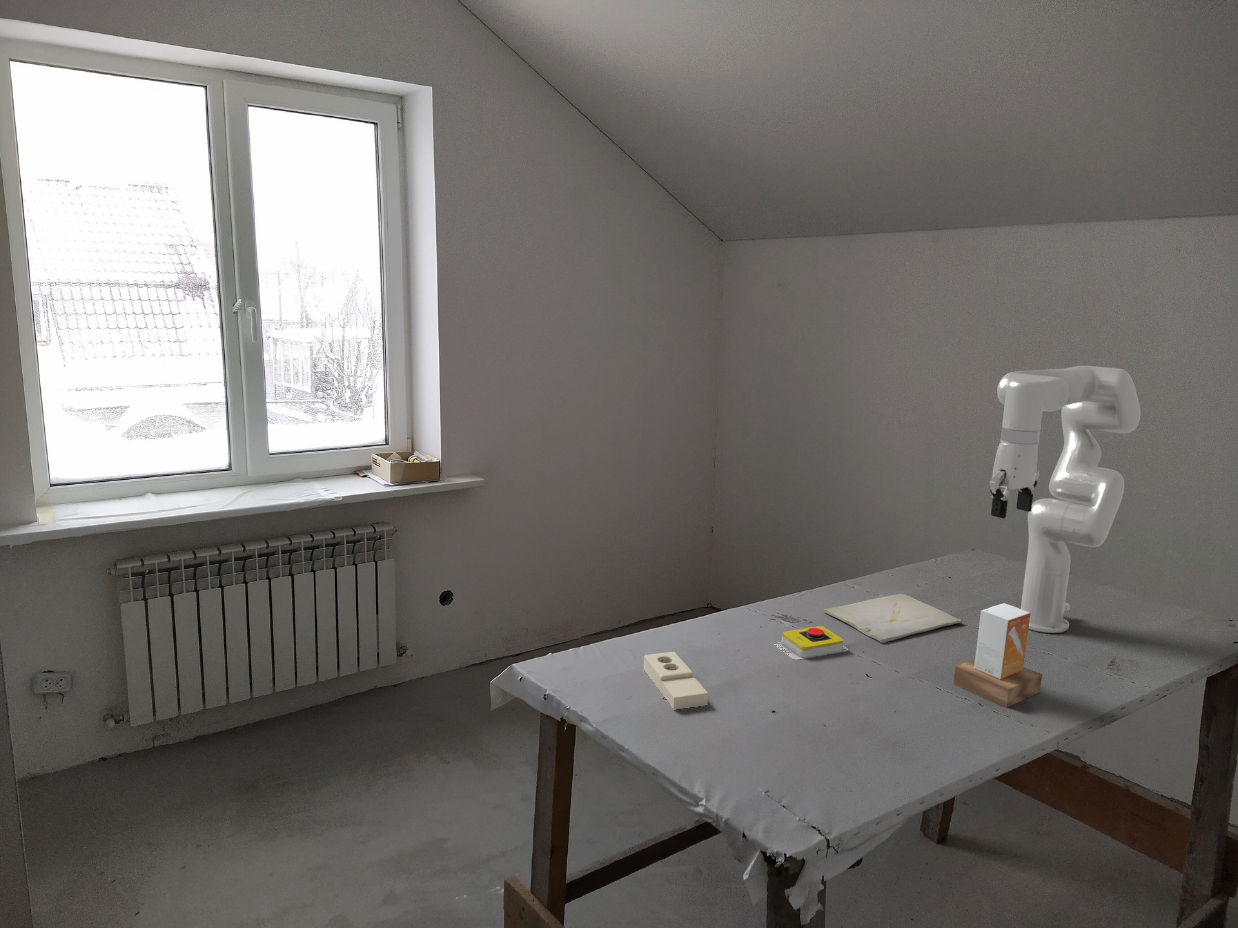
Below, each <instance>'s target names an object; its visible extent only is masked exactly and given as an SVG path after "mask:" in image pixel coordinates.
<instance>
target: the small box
mask: <svg viewBox="0 0 1238 928" xmlns="http://www.w3.org/2000/svg"><path fill="white" fill-rule="evenodd" d="M1030 614H1031V613H1030V612H1027V611H1025V610H1022V609H1021V608H1019V607H1016V606H1014V605H1011V604H1007V603H1000V604H996V605H993V606H991V607H990V606H989V607H988V608H985V609H982V610H980V617H979V626H978V633H977V634H978V635H977V642H976V643H977V644H976V649H975V658H974V659H975V665H974V668H975V669H977V670H979V671H981V672H984V673H986V674H988V675H991V676H993V677H996V678H998V679H1003V678H1005V677H1008V676H1010V675H1012V674H1015V673H1018V672H1021V671H1023V667H1024V663H1025V657H1026V649H1027V642H1028V641H1027V640H1028V635H1029V630H1030V629H1029V622H1030Z"/></svg>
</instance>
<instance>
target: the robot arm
mask: <svg viewBox="0 0 1238 928" xmlns="http://www.w3.org/2000/svg"><path fill="white" fill-rule="evenodd" d="M1136 389H1137V388H1136V386H1135V384H1134V381H1133V378H1132V377H1131V375H1130V373H1129V372H1127V370H1125V369H1123V368H1118V367H1117V368H1116V367H1107V366H1106V367H1104V366H1096V365H1095V366H1093V365H1077V366H1071V367H1065V368H1050V369H1039V370H1038V369H1034V370H1033V369H1032V370H1017V371H1011V372H1008V373H1006V374H1005V375H1004V376H1002V378H1000V381H999V383H998V385H997V389H996V391H997V392H996V394H997V398H998V400H999V402H1000V403H1001V404H1002V405H1003V407H1004V408H1003V415H1002V416H1003V417H1002V424H1001V433H1000V440H999V441H1000V442H999V444H998V447H997V449H996V453H995V457H994V458H995V459H994V464H993V468H992V476H991V479H990V480H989V488H990V494H991V495H990V496H991V499H992V502H991V509H990V511H991V512H990V515H991V516H992V517H996V518H999V519H1006V517H1007V513H1008V512H1007V510H1008V500H1007V498H1008V496H1009V494H1010V492H1012V491H1018V492H1017V500H1016V507H1015V509H1016V510H1018V511H1019V510H1021V511H1024V512H1027V527H1028V544H1027V556H1026V562H1025V563H1026V564H1025V571H1024V578H1023V579H1024V581H1023V587H1022V595H1021V596H1022V597H1021V603H1020V609H1022V610H1025V611H1027V612H1030V613H1031V614H1030V622H1029V629H1028V630H1030V631H1034V632H1040V633H1046V634H1050V633H1051V634H1060V633H1065V632H1066V631H1068V630H1069V628H1070V623H1069V620H1067V619H1066V618H1065V617H1064V614H1065V612H1067V611H1069V610H1070V609H1071V605H1070V604H1069V603H1068V602H1066V598H1067V590H1068V584H1069V576H1070V569H1071V560H1072V558H1071V554H1070V551H1069V549H1068V546H1067V545H1066V543H1069V544H1074V545H1077V546H1082V547H1083V546H1084V547H1089V548H1098V547H1100V546H1101V545H1103V544H1104V543H1105V541H1106V540H1107V538H1108V535H1109V534H1110V531H1111V528H1112V525H1113V522H1114V520H1115V519H1116V515H1117V514H1118V510H1119V507H1120V506H1121V504H1122V503H1121V502H1122V499H1123V497H1124V493H1125V479H1124V477H1123V475H1122V474H1121V472H1119V471H1117V470H1115V469H1112V468H1106V467H1100V466H1099V463H1100V460H1101V459H1102V449H1101V447H1100V444H1099V443H1098V441H1097V440H1096V438H1095V437H1094V436H1093V434H1092V433H1091V431H1090V430H1093V431H1099V432H1107V433H1117V434H1130V433H1131V432H1133V431H1135V430H1136V429H1137V427H1139V424H1140V420H1141V414H1142V413H1141V406H1140V401H1139V398H1138V394H1137V390H1136ZM1059 410H1061V411H1060V412H1061V417H1060V418H1061V427H1062V433H1063V441H1064V443H1063V448H1062V451H1061V454H1060V456H1059V458H1058V460H1057V463H1056V465H1055V467H1054V470H1053V472H1052V475H1051V477H1050V480H1049V483H1048V490H1049V493H1050V495H1052V496H1053V497H1054V498H1051V497H1050V498H1049V497H1048V498H1040V499H1037V500H1035V501H1033V499H1034V494H1035V492H1036V487H1037V485H1038V479H1039V477H1040V471H1039V470H1038V459H1039V457H1038V456H1039V453H1038V452H1039V449H1038V447H1039V445H1040V436H1041V428H1042V419H1043V413H1044V412H1056V411H1057V412H1058V411H1059ZM1019 490H1020V491H1019Z"/></svg>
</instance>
